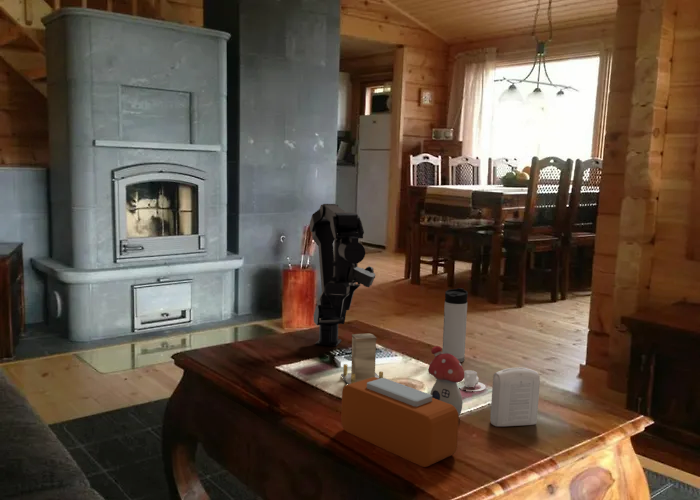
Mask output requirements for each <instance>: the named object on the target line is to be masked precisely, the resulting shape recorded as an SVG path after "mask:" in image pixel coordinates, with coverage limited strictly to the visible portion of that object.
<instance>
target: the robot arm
mask: <svg viewBox="0 0 700 500" xmlns="http://www.w3.org/2000/svg"><path fill="white" fill-rule="evenodd" d="M309 231H310V232H311V235H312V236H311V237H312V240H313V241H314V243H315V244H316V246H317V248H318V256H319V258H318V259H319V272H320V284H321V285H320V286H321V293H320V295H319V297H318V299H317V300H316V302H317V305H316V306H315V309H314V313H313V322H314V323H315V325H316V326H318V327H319V330H318V334H319V335H318V339H317V341H316V342H315V345H318V346H327V347H328V346H331V347H337V346H338V345H339V344H341V342H342V339H341V338H339V325H344V324H345V322H346V314H347V311H349V310H350V308H351V305H352V301H353V297H354V294H355V291H356V290H358V288H360V287H361V285H362V286H364V287H365V288H370V287H371V286H372V285H373V283H374V280H375V278H376V273H375V272H374V271H375V270H374V267H372V266H370V265H368V266H367V267H366V268H363V267H359V266H358V265H359V263H361V262H362V261H363V260H364V259H365V256H366V249H365V247H364V245H363V244H362V243H361V242H359V239H360V240H361V239H364V234H365V231H364V227H363V223H362V220H361V218H360V216H359V215H358V212H356V211H345V210H343V208H341V207H339V205H338V204H336V203H323V204H320V207H319V209H318V210H316V211H315V212H314V213H312V215H311V218H310V221H309ZM333 243H334V244H333ZM356 283H357V284H356Z"/></svg>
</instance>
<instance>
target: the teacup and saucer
mask: <svg viewBox="0 0 700 500" xmlns="http://www.w3.org/2000/svg"><path fill="white" fill-rule="evenodd" d="M463 380H464V381H465V382H464V386H465V387H466V386H467V387H466V388H469V387H473V388H475V386H476V385H478V386H480V388H478V389H466V391H465V392H472V391H473V393H474V392H481V391H484V390H485V389H486V388H487V387H486V385H485V384H484V383H482V382H480V381H479V380H480V378H479V376H478V372H477V371H475V370H473V369H472V370H471V369H466V370H464V379H463Z"/></svg>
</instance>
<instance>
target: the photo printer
mask: <svg viewBox="0 0 700 500" xmlns="http://www.w3.org/2000/svg"><path fill="white" fill-rule="evenodd" d="M540 385H541V378H540V375H539V372H538V371H536V370H534V369H531V368H526V367H519V366H518V367H508V368H504V369H501V370H499V371H496V372H494V374H493V376H492V388H491V402H490V404H491V405H490V416H489V417H490V423H491V425H493V426H495V427H514V426H515V427H516V426H533V425H537V422H538V421H537V420H538V411H539V410H538V409H539V395H540V387H541V386H540Z"/></svg>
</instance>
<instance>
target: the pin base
mask: <svg viewBox="0 0 700 500" xmlns="http://www.w3.org/2000/svg"><path fill="white" fill-rule="evenodd" d="M348 366H349V365H348V364H346V363H345V364H343V372H342V373H340V377H341V376H342V377H343V379H344V380H345V381H346V382H347V384H352V383H355V373H352V374H351V372H349V373H348ZM375 377H376V378H379V379H380V378H384V371H379V373H376V372H375ZM343 379H342V380H343ZM344 380H343V381H344ZM345 381H344V382H345ZM347 384H346V385H347Z"/></svg>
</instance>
